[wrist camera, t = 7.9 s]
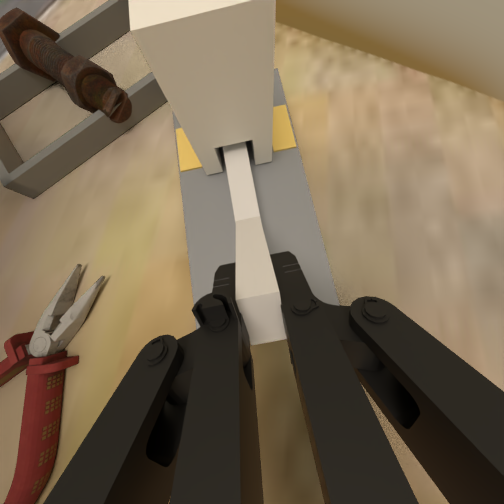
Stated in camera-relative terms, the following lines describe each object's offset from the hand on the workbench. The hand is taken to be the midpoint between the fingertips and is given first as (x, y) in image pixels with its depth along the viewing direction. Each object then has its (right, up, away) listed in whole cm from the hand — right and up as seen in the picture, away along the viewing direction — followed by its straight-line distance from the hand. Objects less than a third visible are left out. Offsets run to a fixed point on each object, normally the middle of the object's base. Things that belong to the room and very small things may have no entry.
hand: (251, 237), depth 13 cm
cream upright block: (-2, +10, +7) cm, 12 cm away
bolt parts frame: (-19, +18, +11) cm, 28 cm away
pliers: (-18, -14, +5) cm, 24 cm away
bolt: (-19, +18, +11) cm, 28 cm away
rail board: (-1, +5, +7) cm, 9 cm away
